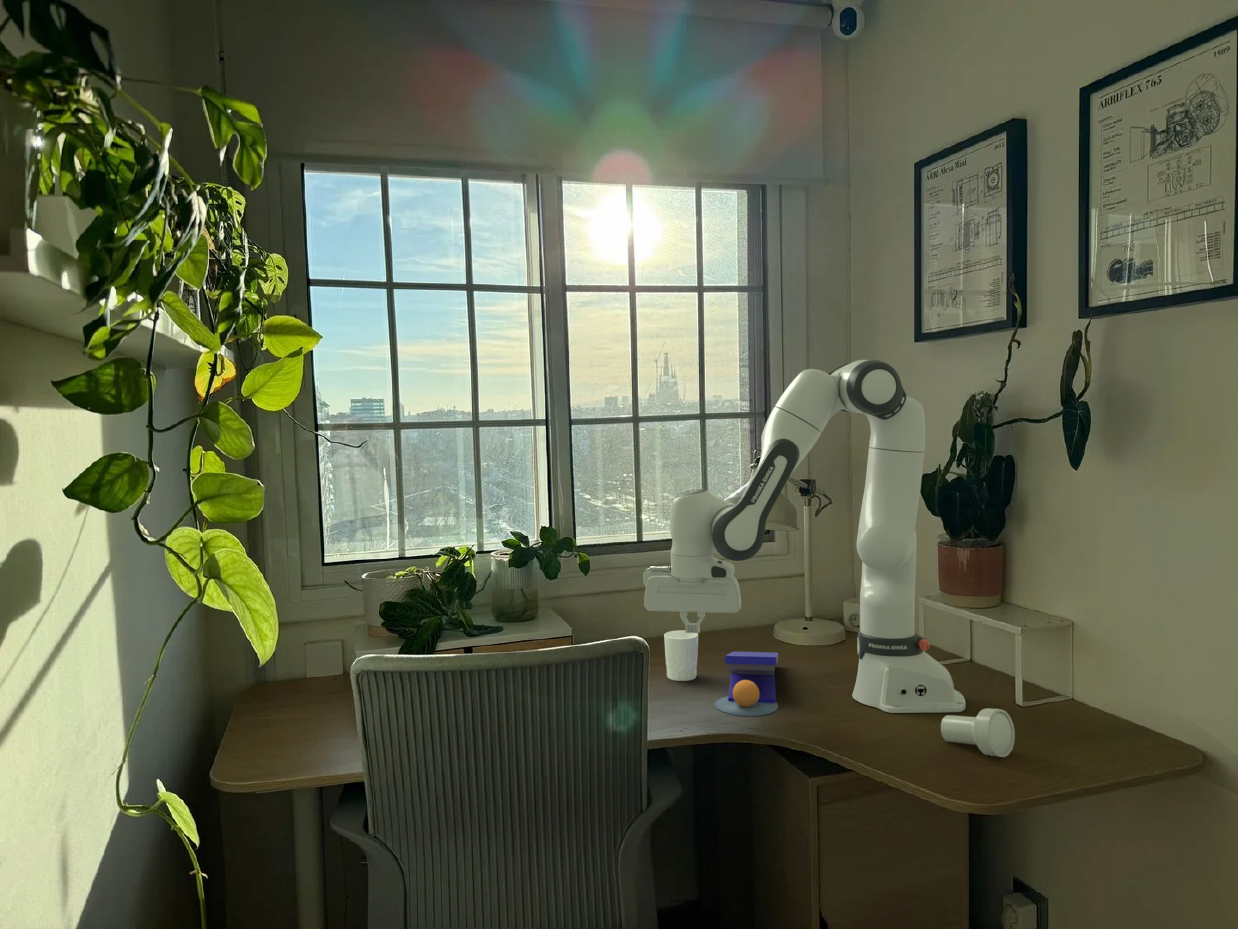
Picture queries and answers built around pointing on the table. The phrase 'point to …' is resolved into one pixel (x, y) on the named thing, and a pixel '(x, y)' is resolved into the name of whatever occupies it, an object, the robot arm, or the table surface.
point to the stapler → (753, 672)
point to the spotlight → (982, 731)
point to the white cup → (681, 655)
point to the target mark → (745, 708)
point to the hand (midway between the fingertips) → (692, 632)
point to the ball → (746, 693)
